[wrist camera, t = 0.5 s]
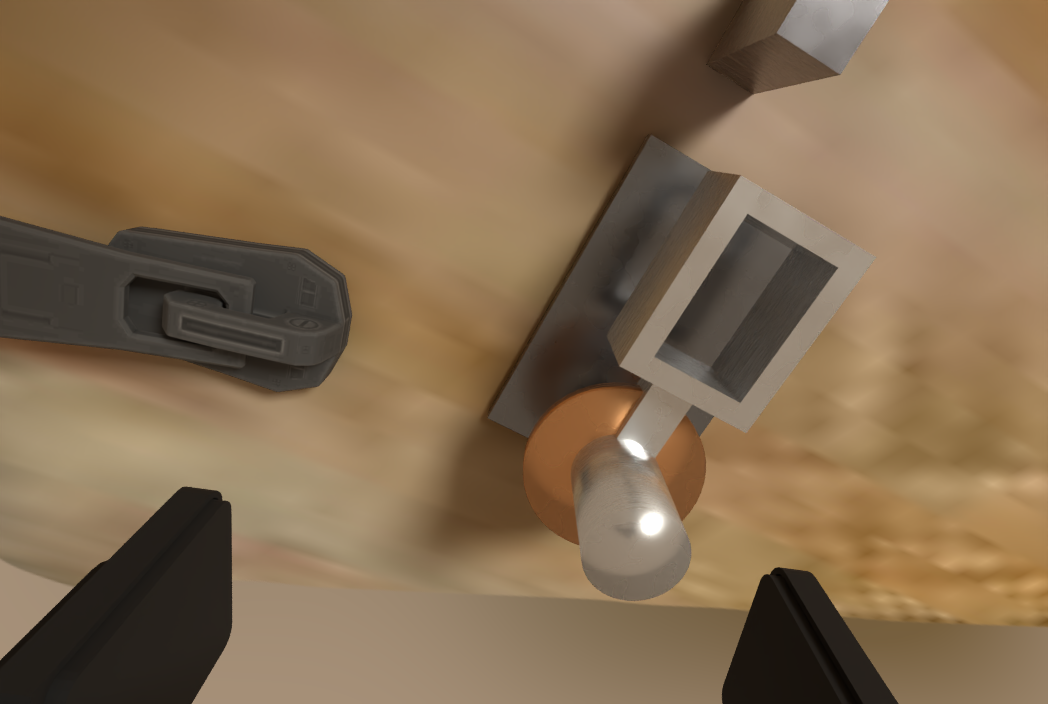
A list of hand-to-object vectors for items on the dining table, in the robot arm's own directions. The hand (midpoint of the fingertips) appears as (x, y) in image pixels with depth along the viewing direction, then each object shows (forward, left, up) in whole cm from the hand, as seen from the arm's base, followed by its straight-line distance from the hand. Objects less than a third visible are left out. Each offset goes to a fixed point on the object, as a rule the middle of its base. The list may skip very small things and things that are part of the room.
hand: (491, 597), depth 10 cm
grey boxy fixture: (-5, +8, -29) cm, 30 cm away
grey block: (-19, -4, -29) cm, 34 cm away
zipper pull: (+20, -12, -29) cm, 37 cm away
